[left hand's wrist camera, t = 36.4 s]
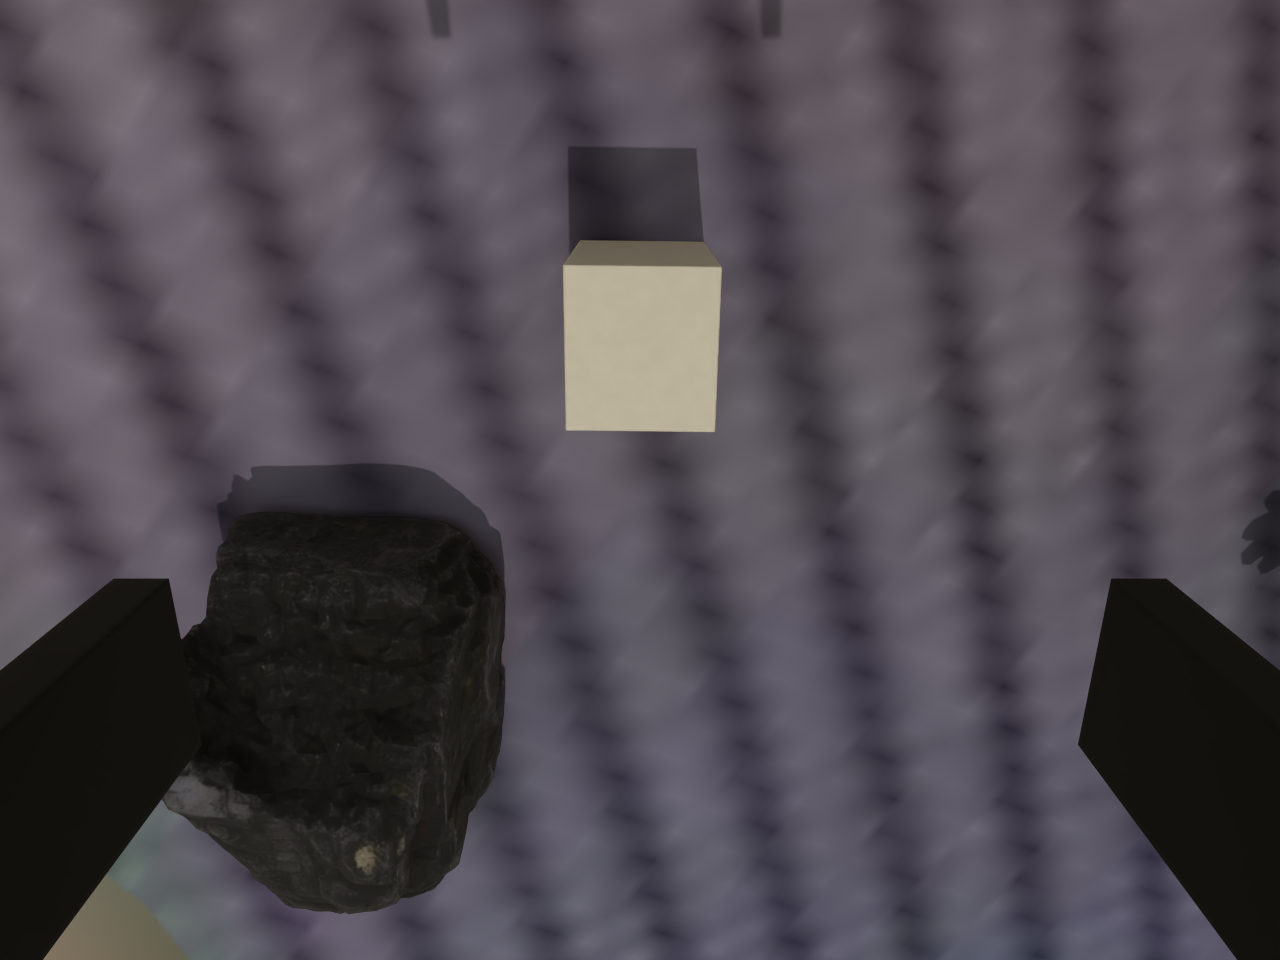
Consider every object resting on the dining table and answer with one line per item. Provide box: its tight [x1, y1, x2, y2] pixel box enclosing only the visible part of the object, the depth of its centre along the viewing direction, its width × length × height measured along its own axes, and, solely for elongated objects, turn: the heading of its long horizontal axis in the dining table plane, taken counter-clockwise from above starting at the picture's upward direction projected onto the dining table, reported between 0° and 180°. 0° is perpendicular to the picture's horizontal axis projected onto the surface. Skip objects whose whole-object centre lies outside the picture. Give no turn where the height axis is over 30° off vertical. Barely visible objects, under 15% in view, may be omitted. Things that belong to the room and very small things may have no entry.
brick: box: [563, 240, 722, 432], centre depth 36 cm, size 6×6×9 cm
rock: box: [162, 512, 505, 914], centre depth 41 cm, size 20×16×15 cm
